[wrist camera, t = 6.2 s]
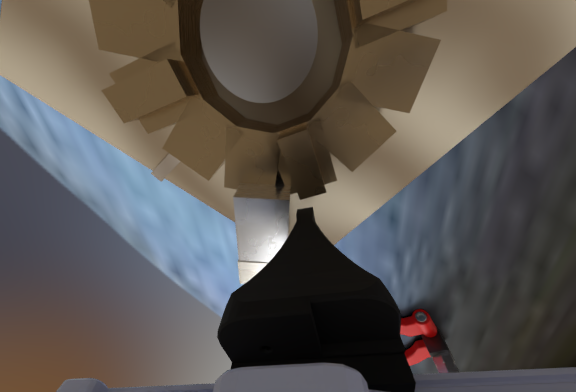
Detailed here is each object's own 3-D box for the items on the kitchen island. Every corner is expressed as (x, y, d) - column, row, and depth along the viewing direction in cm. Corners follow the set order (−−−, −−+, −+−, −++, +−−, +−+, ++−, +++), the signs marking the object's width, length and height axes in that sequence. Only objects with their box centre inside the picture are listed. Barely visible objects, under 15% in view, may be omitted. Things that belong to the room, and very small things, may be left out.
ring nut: (396, -300, 6) (517, -762, 3) (427, 207, 13) (468, 248, 10) (60, -66, 8) (-89, -157, 5) (247, 253, 15) (234, 297, 12)
